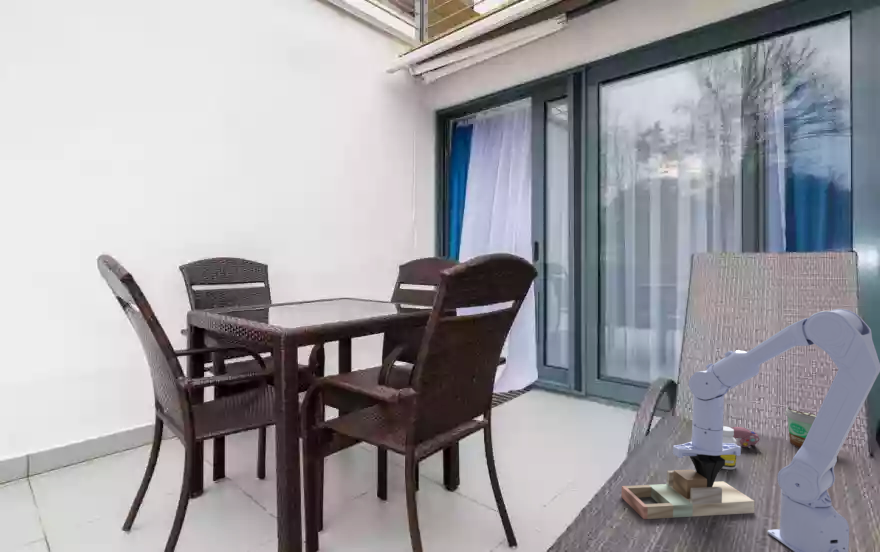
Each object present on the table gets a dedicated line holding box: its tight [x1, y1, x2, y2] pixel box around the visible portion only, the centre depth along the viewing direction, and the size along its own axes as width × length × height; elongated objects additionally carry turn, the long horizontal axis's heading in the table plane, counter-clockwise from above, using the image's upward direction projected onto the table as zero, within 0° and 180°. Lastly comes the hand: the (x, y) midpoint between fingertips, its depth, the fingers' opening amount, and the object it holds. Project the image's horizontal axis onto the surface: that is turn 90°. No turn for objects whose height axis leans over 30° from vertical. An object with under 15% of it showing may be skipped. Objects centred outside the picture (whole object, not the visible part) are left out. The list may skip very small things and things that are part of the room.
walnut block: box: [673, 469, 707, 499], centre depth 96 cm, size 4×4×4 cm
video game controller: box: [730, 426, 760, 448], centre depth 129 cm, size 10×5×7 cm, turn 73°
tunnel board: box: [620, 469, 756, 520], centre depth 96 cm, size 9×25×6 cm, turn 97°
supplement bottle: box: [721, 425, 738, 470], centre depth 116 cm, size 5×5×10 cm
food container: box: [784, 405, 817, 449], centre depth 129 cm, size 12×6×10 cm, turn 25°
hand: (705, 488), depth 97 cm, fingers closed
